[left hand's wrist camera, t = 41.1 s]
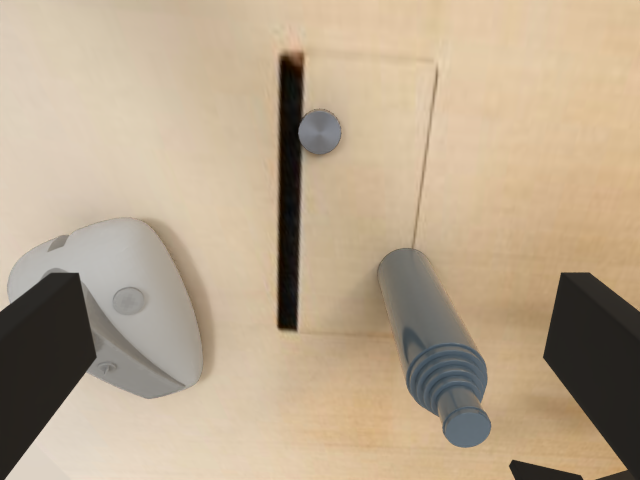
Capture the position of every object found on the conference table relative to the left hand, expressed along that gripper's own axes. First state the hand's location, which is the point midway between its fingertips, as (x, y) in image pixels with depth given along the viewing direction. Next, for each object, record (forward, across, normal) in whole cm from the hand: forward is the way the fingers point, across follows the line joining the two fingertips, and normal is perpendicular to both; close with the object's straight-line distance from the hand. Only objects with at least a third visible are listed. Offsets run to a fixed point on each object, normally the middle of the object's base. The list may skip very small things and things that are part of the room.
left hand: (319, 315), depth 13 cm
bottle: (+38, +10, -17) cm, 42 cm away
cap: (+36, 0, 0) cm, 36 cm away
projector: (+38, -22, -21) cm, 48 cm away
